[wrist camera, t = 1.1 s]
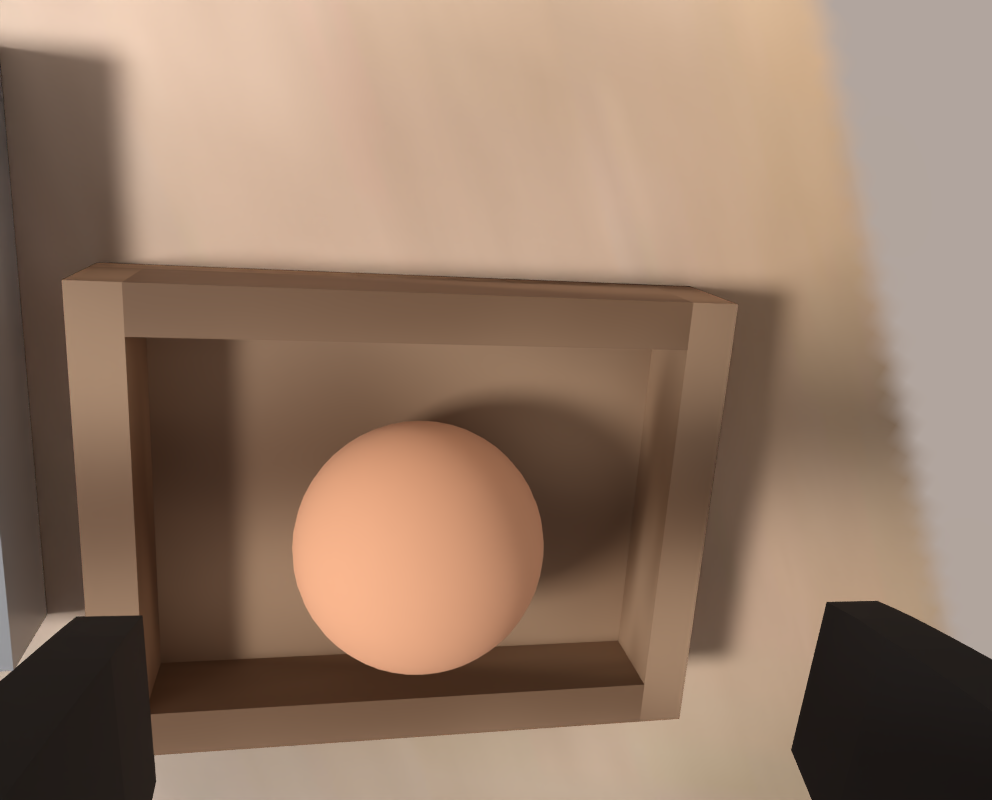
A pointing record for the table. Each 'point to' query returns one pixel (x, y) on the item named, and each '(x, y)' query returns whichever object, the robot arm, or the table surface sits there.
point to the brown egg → (417, 547)
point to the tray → (15, 453)
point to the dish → (360, 409)
